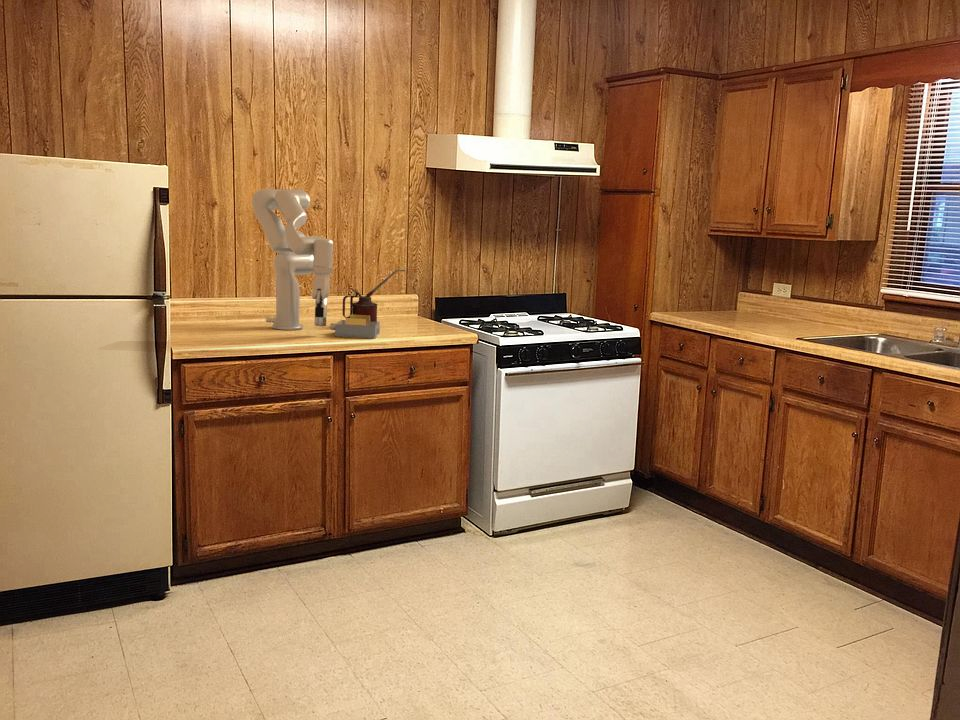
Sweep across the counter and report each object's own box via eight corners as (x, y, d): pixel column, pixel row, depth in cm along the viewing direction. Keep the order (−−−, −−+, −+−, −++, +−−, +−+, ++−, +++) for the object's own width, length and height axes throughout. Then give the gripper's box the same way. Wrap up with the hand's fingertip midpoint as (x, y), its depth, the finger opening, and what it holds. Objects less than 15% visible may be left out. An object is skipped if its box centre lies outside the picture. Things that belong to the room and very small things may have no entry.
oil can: (347, 329, 355) (348, 270, 351) (339, 325, 365) (340, 268, 361) (408, 327, 368) (410, 270, 364) (399, 324, 378) (401, 268, 373)
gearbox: (327, 336, 335) (327, 317, 333) (333, 331, 348) (334, 313, 346) (375, 338, 335) (375, 319, 333) (379, 333, 347) (379, 315, 346)
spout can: (313, 325, 332) (314, 295, 330) (315, 323, 337) (317, 294, 334) (324, 326, 332) (326, 296, 330) (327, 324, 337) (328, 295, 334)
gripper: (317, 267, 338) (315, 311, 342) (308, 271, 322) (306, 318, 326) (336, 268, 338) (334, 313, 342) (327, 273, 322) (325, 320, 326)
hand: (320, 315), depth 334 cm, fingers closed on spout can, 4 cm apart
